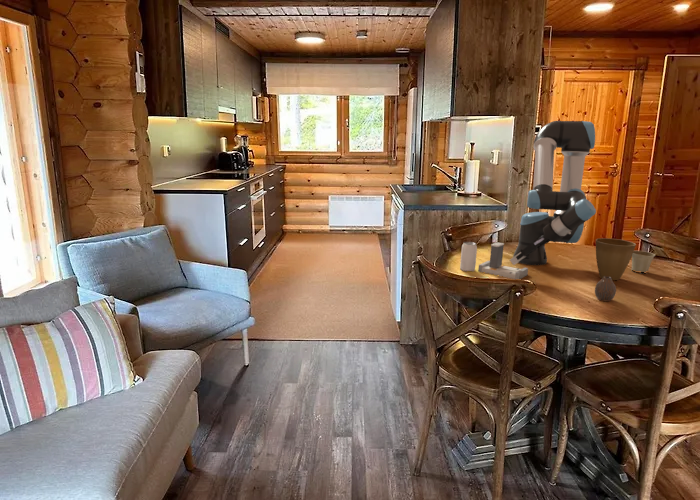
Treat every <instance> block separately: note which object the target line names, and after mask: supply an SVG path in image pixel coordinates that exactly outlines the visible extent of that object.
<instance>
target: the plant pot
mask: <svg viewBox="0 0 700 500" xmlns="http://www.w3.org/2000/svg"><path fill="white" fill-rule="evenodd" d="M636 245H637V244H636V243H635V242H633V241H629V240H624V239H617V238H608V237H607V238H604V237H603V238H601V237H600V238H596V239H595V257H596V264H597V265H596V266H597V270H598V275H599V278H601V279H602V278H603V277H604V276H609V277H611V279H612V281H613V280H617V281H620V279H621V277H622V276H623V274H624V273H625V271H626V269H627V267H628V265H629V263H630V261H631V260H632V254H633V251H635V248H636Z"/></svg>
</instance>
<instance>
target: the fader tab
mask: <svg viewBox="0 0 700 500" xmlns="http://www.w3.org/2000/svg"><path fill="white" fill-rule="evenodd" d="M504 245H505V243H503V242H494V243H491V244H490V246H491V247H490V257H489V258H490V259H489V261H490V266H489V267H492V268H498V267H500V266H502V265H503V255H504V247H505V246H504Z"/></svg>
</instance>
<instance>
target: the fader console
mask: <svg viewBox="0 0 700 500" xmlns="http://www.w3.org/2000/svg"><path fill="white" fill-rule="evenodd" d="M489 266H490V259H489V260H485V262H482V263H480V264H478V269H477V271H478V272H479V273H483V272H485V273H484V274H488V273H489V275H493V274H494V275H493V276H497V275H499V276H498V277H502V276H503V277H502V278H507V279H511V280H516V279H520V280H522V279H523V278H524V277H527V276H528V272H529V268H528V267H523V268H519V267H511V266H507V265H504V264H502V266H500V267H498V268H492V267H489Z"/></svg>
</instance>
